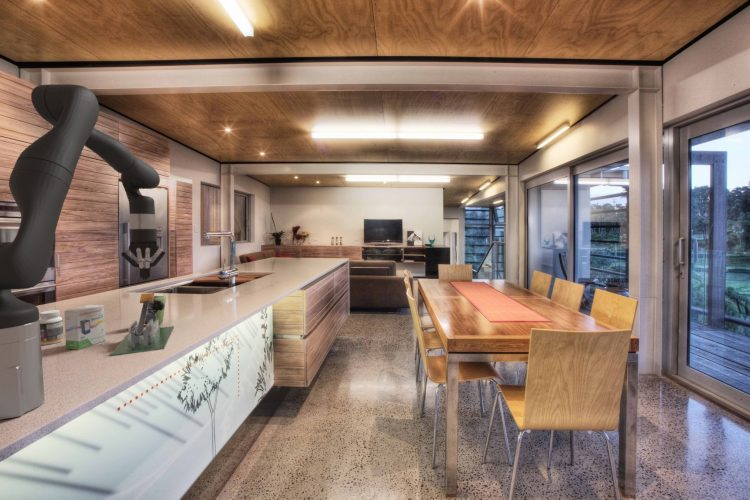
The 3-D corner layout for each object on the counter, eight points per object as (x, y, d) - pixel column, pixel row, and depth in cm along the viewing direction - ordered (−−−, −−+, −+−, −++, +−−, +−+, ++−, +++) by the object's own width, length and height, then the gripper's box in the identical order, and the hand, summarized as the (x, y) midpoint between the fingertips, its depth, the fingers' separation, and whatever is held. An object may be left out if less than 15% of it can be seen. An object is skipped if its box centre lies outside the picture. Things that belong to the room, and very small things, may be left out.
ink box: (93, 339, 110) (91, 304, 109) (106, 340, 109) (104, 304, 108) (64, 349, 101) (62, 310, 100) (78, 350, 100) (76, 311, 99)
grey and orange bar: (146, 335, 101) (146, 333, 101) (132, 337, 100) (131, 335, 99) (154, 295, 115) (154, 293, 115) (141, 295, 114) (141, 293, 113)
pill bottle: (35, 343, 106) (33, 312, 106) (59, 338, 111) (57, 308, 111) (43, 346, 104) (41, 314, 103) (67, 341, 109) (65, 310, 108)
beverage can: (145, 324, 127) (144, 293, 127) (168, 322, 130) (166, 291, 130) (142, 328, 122) (140, 296, 121) (165, 326, 125) (164, 294, 124)
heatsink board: (164, 348, 101) (163, 328, 100) (110, 355, 95) (109, 334, 95) (173, 327, 123) (173, 310, 123) (130, 331, 118) (130, 314, 118)
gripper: (115, 227, 106) (118, 282, 107) (164, 227, 112) (167, 279, 113) (121, 228, 113) (124, 279, 114) (167, 227, 118) (169, 276, 120)
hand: (145, 279), depth 113 cm, fingers closed
